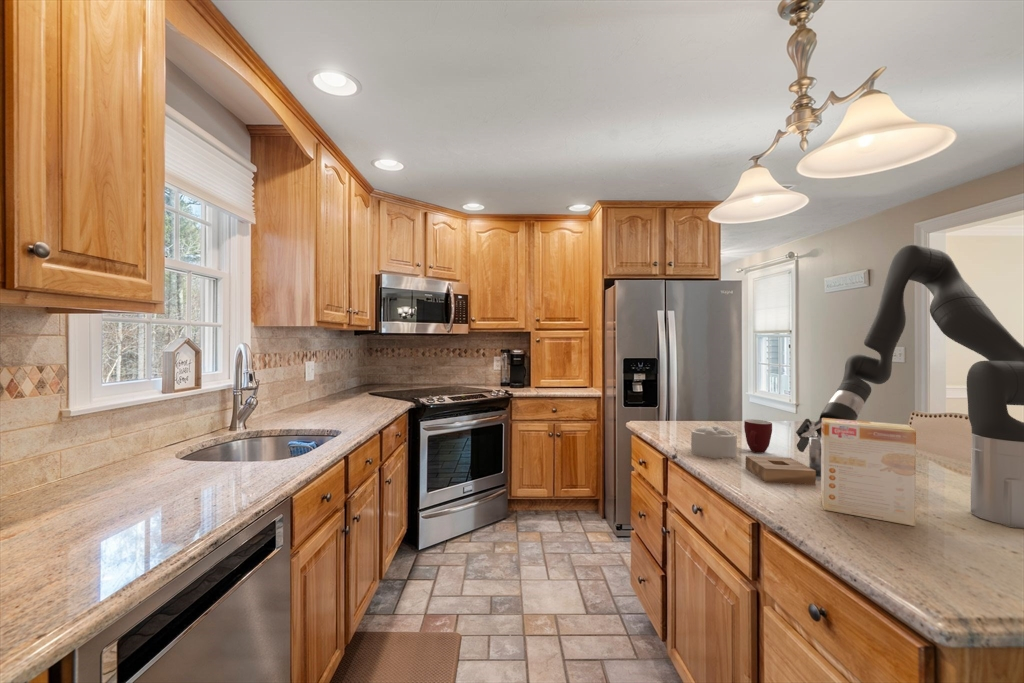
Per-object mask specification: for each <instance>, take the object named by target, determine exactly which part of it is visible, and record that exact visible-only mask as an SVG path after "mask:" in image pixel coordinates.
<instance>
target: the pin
mask: <svg viewBox="0 0 1024 683" xmlns="http://www.w3.org/2000/svg"><path fill="white" fill-rule="evenodd" d="M808 445H809V448H808V449H809V451H808V452H809V457H808V458H809V459H808V460H809V466H808V467H809V468H811V469H813V470H815V471H816V476H820V477H821V438H817V437H810V438H809V444H808Z"/></svg>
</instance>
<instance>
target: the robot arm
mask: <svg viewBox="0 0 1024 683" xmlns="http://www.w3.org/2000/svg"><path fill="white" fill-rule="evenodd" d="M887 269H888V270H887V274H886V278H885V281H884V284H883V288H882V292H881V297H880V301H879V305H878V309H877V311H876V314H875V317H874V319H873V320H872V323H871V325H870V327H869V330H868V332H867V334H866V336H865V337H864V338H865V339H864V341H863V344H864V346H865V347H867V348H869V349H870V350H873V351H875V352H877V353H878V354H879V356H880V359H878V358H875V357H872V356H868V355H866V354H862V353H856V354H852V355H850V356H849V357H848V358H847V359H846V361H845V365H844V374H843V378H842V380H841V382H840V385H839V386H838V388H837V390H836V391H835V392H834V394H833V395H832V396H831V397H830V399H829V400H828V402H827V403H826V405H825V406H824V408H823V410H822V411H821V413H820V415H819V418H818V420H816V421H811V420H810V418H805V419H804V421H803V422H802V423H801V424H800V426H799V428H798V429H797V430H796V432H795V433H796V435H797V437H799V441H798V442H797V444H796V448H797V450H798V451H799V452H800V453H804V451H805V450H806V448H808V445H809V438H810V437H817V438H821V428H822V418H831V419H843V420H855V421H857V419H858V418H859V417H860V415H861V412H862V410H863V408H864V405H865V404H866V402H867V400H868V398H869V397H870V395H871V393H872V387H871V385H870V384H869V383H871V384H875V385H882V384H885V383H887V381H889V379H890V378H891V375H892V367H893V357H894V352H895V349H896V347H897V345H898V343H899V340H900V338H901V337H902V334H904V333H903V332H904V330H905V327H906V324H907V323H906V322H907V321H906V320H907V318H906V316H907V315H906V310H905V304H904V303H905V302H904V298H905V297H904V295H905V289H906V286H907V284H908V282H909V281H912V282H915V283H919V284H921V285H924V286H925V287H926V288H927V289H928V290H929V292H930V293H931V294H932V295H933V296H932V297H933V298H932V300H931V302H930V305H929V313H930V316H931V318H932V320H933V321H934V322H935V324H936V326H937V327H938V328H939V330H940V332H942V333H943V335H945V337H947V338H948V339H950V340H951V341H953V342H955V343H957V344H959V345H961V346H963V347H965V348H966V349H969V350H970V351H972V352H975V353H976V354H978V355H981V356H982V357H983V358H985V359H986V360H980V361H977V362H974V363H973V364H972V365H971V366H970V368H969V369H968V371H967V375H966V395H967V396H966V398H967V415H968V420H969V423H970V428H971V445H970V446H971V447H970V448H971V449H970V450H971V451H970V453H971V454H970V458H971V459H970V514H972V515H974V516H976V517H978V518H981V519H983V520H986V521H989V522H993V523H995V524H996V523H997V524H1000V525H1004V526H1006V527H1010V528H1020V529H1024V422H1023V421H1021V420H1018V419H1016V418H1014V417H1013V416H1012V415H1010V414H1009V410H1008V406H1023V407H1024V346H1023V344H1021V343H1020V342H1019V341H1018V340H1017V338H1015V337H1014V336H1013V335H1012V334H1011V333H1010V331H1008V330H1007V328H1006V327H1005V326H1004V325H1003V324H1002V323H1001V322H1000V321H999V319H997V317H996V316H995V315H994V313H993V312H992V311H991V309H990V308H989V307H988V306H987V304H986V303H985V302H984V301H983V299H982V298H980V297H979V296H978V294H976V292H975V291H974V290H973V288H972V287H971V286H970V285H969V283H968V282H967V281H966V280H965V279H964V278H963V276H962V274H961V273H960V271H959V270H958V268H957V265H956V264H955V262H954V261H953V259H952V258H951V257H950V255H949V254H948V253H946V251H945V252H944V251H943V250H939V249H937V248H932V247H928V246H923V245H918V244H907V245H905V246H903V247H901V248H900V249H899V250H897V251H896V252H895V254H894V255H893V257H892V259H891V261H890V263H889V267H888V268H887ZM868 382H869V383H868ZM815 432H816V434H815Z"/></svg>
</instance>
